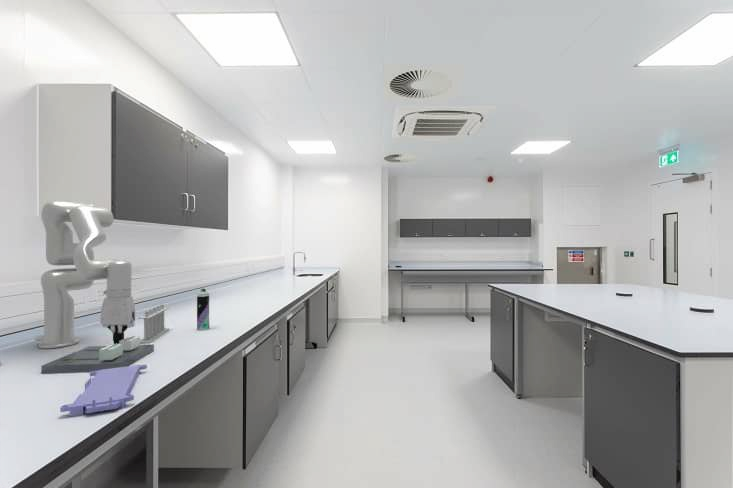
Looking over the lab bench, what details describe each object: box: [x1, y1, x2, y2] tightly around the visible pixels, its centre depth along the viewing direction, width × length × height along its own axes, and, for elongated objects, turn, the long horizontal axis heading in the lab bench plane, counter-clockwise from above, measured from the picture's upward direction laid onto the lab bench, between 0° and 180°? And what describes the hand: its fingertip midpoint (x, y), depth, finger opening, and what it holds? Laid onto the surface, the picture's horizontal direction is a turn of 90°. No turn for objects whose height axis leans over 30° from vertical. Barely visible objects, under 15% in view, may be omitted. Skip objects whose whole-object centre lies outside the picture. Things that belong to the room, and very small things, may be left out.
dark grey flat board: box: [40, 343, 155, 375], centre depth 126 cm, size 24×22×3 cm
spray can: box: [196, 288, 210, 331], centre depth 174 cm, size 6×6×20 cm
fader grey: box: [118, 335, 141, 350], centre depth 132 cm, size 4×6×4 cm, turn 5°
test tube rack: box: [137, 303, 170, 345], centre depth 160 cm, size 25×4×13 cm, turn 13°
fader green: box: [99, 343, 123, 360], centre depth 121 cm, size 4×6×4 cm, turn 5°
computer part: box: [59, 364, 148, 418], centre depth 99 cm, size 30×4×15 cm
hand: (118, 342), depth 132 cm, fingers closed
